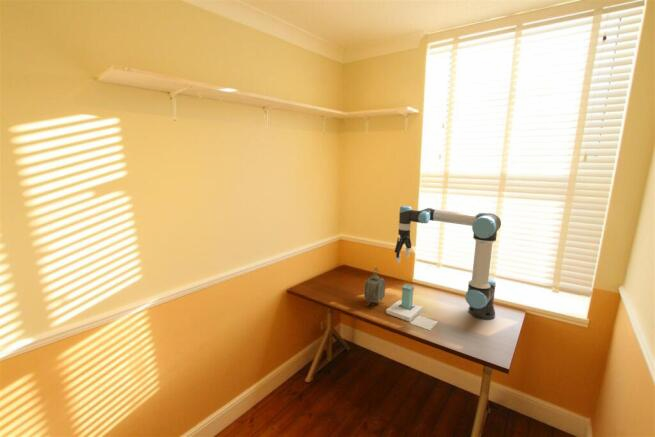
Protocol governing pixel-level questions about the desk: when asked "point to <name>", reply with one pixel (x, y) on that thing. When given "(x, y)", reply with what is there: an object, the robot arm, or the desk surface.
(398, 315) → the white square socket base
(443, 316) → the desk surface
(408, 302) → the teal square pillar
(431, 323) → the pad
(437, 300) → the desk surface
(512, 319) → the desk surface
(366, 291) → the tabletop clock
